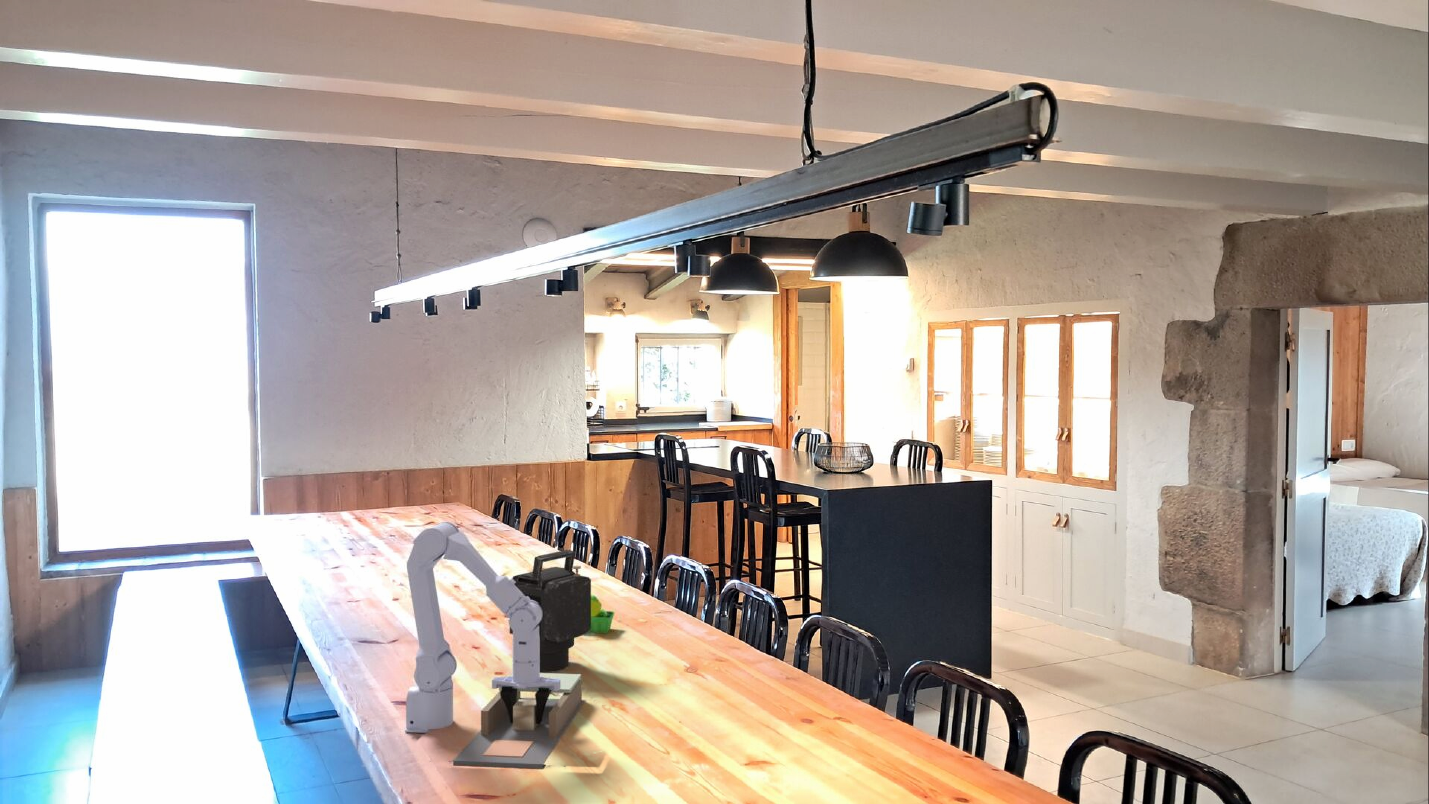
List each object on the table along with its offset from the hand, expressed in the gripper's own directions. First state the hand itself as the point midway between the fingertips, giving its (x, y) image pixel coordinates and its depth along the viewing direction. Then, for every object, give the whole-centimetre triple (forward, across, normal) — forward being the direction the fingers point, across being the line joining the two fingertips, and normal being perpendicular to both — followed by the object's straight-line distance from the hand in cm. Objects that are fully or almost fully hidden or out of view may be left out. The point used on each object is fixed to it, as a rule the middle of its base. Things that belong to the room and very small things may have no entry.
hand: (526, 722), depth 217 cm
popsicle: (+3, -2, +27) cm, 27 cm away
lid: (-5, 0, +12) cm, 13 cm away
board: (+2, 0, 0) cm, 2 cm away
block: (+1, 0, 0) cm, 1 cm away
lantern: (+2, -7, +46) cm, 47 cm away
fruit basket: (+2, -3, +82) cm, 82 cm away
